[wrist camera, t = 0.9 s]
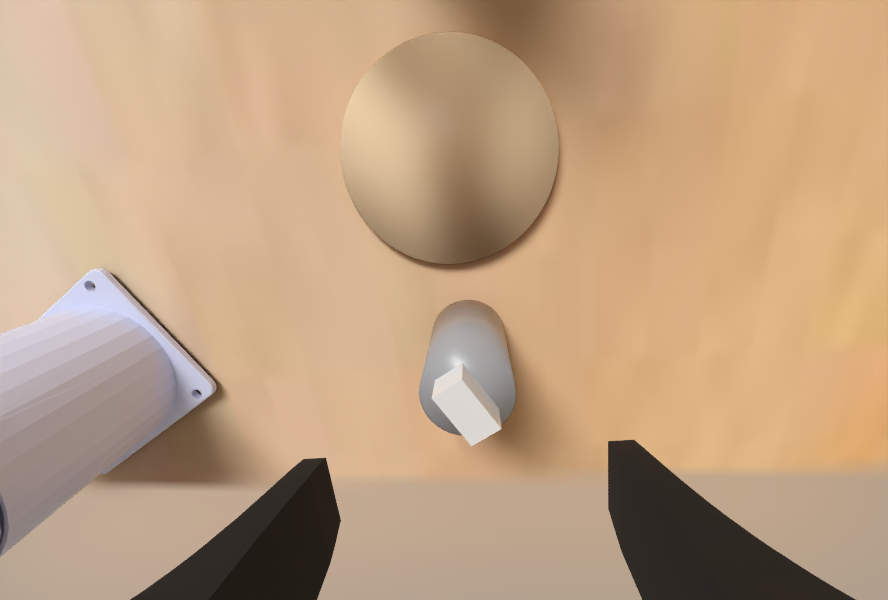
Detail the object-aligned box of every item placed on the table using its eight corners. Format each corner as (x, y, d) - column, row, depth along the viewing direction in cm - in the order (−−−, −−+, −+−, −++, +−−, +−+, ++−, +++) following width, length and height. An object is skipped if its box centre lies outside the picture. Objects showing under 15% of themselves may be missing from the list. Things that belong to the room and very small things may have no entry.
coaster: (428, 299, 20) (427, 302, 19) (299, 134, 18) (295, 134, 18) (598, 180, 18) (601, 180, 17) (473, -21, 16) (473, -26, 15)
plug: (460, 378, 21) (455, 474, 14) (418, 326, 20) (393, 402, 14) (518, 341, 20) (540, 425, 14) (476, 286, 19) (479, 346, 13)
